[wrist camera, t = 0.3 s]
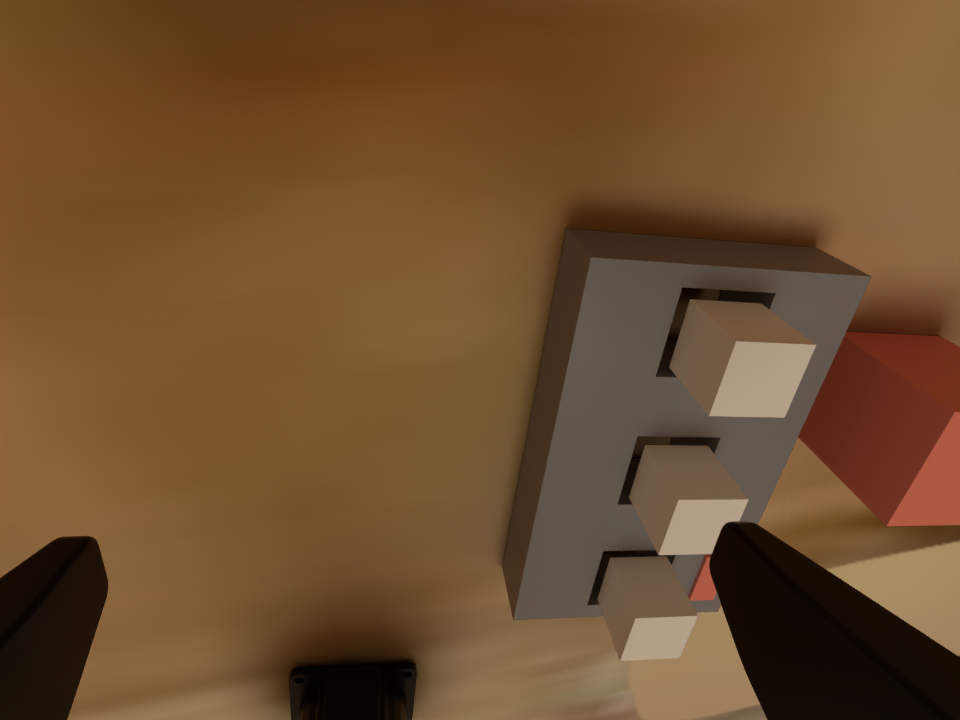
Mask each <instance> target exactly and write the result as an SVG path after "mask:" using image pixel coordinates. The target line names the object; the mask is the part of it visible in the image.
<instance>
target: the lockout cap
mask: <svg viewBox="0 0 960 720" xmlns="http://www.w3.org/2000/svg"><path fill="white" fill-rule="evenodd" d="M798 437H799V438H800V439H801V440H802V441H803V442H804V443H805V444H806V445H807V446H808V447H809V448H810V449H811V450H812V451H813V452H814V453H815V454H816V455H817V456H818V457H819V458H820V459H821V460H822V462H823V463H824V464H825V465H826V466H827V467H828V468H829V469H830V470H831V471H832V472H833V473H834V474H835V475H836V476H837V477H838V478H839V479H840V480H841V481H842V482H843V483H844V484H845V485H846V486H847V487H848V488H849V489H850V490H851V491H852V492H853V493H854V494H855V495H856V496H857V497H858V498H859V499H860V500H861V501H862V502H863V503H864V504H865V505H866V506H867V507H868V508H869V509H870V510H871V511H872V512H873V513H874V514H875V515H876V516H877V517H878V518H879V519H880V520H881V521H882V522H883V523H884V524H885V525H886V526H920V525H960V347H958V346H956V345H955V344H953V343H951V342H949V341H948V340H946V339H944V338H942V337H940V336H925V335H905V334H884V333H864V332H846V333H845V336H844V338H843V340H842V342H841V344H840V346H839V349H838V351H837V353H836V355H835V357H834V360H833V362H832V364H831V366H830V368H829V370H828V373H827V375H826V377H825V379H824V381H823V384H822V386H821V388H820V390H819V392H818V394H817V397H816V399H815V401H814V403H813V405H812V407H811V410H810V412H809V414H808V416H807V418H806V421H805V423H804V425H803V427H802V429H801V431H800V434H799V436H798Z"/></svg>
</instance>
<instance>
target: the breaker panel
mask: <svg viewBox="0 0 960 720" xmlns="http://www.w3.org/2000/svg"><path fill="white" fill-rule="evenodd" d="M870 279H871V276H869V275H867V274H866V273H864V272H862V271H860V270H858V269H856V268H854V267H852V266H850V265H848V264H846V263H845V262H843V261H841V260H839V259H837V258H835V257H833V256H831V255H829V254H827V253H825V252H823V251H822V250H820V249H818V248H812V247H799V246H786V245H773V244H760V243H747V242H734V241H721V240H708V239H695V238H682V237H669V236H656V235H643V234H630V233H617V232H604V231H591V230H578V229H566V231H565V237H564V242H563V247H562V252H561V258H560V263H559V268H558V274H557V279H556V284H555V290H554V295H553V300H552V305H551V311H550V316H549V321H548V327H547V332H546V337H545V343H544V348H543V353H542V358H541V364H540V369H539V374H538V380H537V385H536V390H535V396H534V401H533V406H532V411H531V417H530V422H529V427H528V433H527V438H526V443H525V449H524V454H523V459H522V464H521V470H520V475H519V480H518V486H517V491H516V496H515V502H514V507H513V512H512V517H511V523H510V528H509V533H508V539H507V544H506V549H505V555H504V560H503V565H502V569H503V573H504V578H505V583H506V588H507V592H508V597H509V602H510V607H511V611H512V616H513V620H525V619H549V618H573V617H597V616H604V615H603V613H602V610H601V607H600V604H599V602H598V596H599V592H600V589H601V586H602V583H603V580H604V576H605V573H606V570H607V567H608V563H609V560H610V558H618V557H660V556H667V558H668V560H669V561H670V563H671V565H672V567H673V569H674V571H675V573H676V575H677V577H678V579H679V581H680V582H681V584H682V586H683V588H684V590H685V592H686V594H687V596H688V598H689V600H690V602H691V604H692V605H693V607H694V609H695V611H696V612H715V611H716V612H717V611H718V610H719V608H720V606H721V603H720V600H719V597H718V594H717V591H716V589H715V586H714V583H713V580H712V577H711V574H710V569H709V562H710V557H711V554H689V555H658V553H657V551H656V549H655V547H654V545H653V543H652V541H651V540H650V538H649V536H648V534H647V532H646V530H645V528H644V526H643V524H642V522H641V520H640V518H639V516H638V514H637V512H636V510H635V508H634V506H633V504H632V502H631V500H630V498H629V495H630V492H631V489H632V486H633V483H634V479H635V476H636V473H637V470H638V466H639V463H640V460H641V458H631V457H632V454H633V451H634V447H635V444H636V441H637V437H638V436H651V437H673V438H672V441H671V444H670V445H689V446H709V448H710V449H711V450H712V452H713V453H714V454H715V456H716V457H717V458H718V459H719V461H720V462H721V463H722V465H723V466H724V467H725V469H726V470H727V471H728V473H729V474H730V475H731V477H732V478H733V479H734V481H735V482H736V483H737V485H738V486H739V487H740V489H741V490H742V491H743V492H744V494H745V495H746V496H747V498H748V499H749V500H748V502H747V505H746V507H745V509H744V512H743V514H742V516H741V518H740V521H750V522H754V523H756V524H757V525H758V523H759V521H760V519H761V516H762V514H763V512H764V510H765V508H766V505H767V503H768V501H769V499H770V497H771V495H772V492H773V490H774V488H775V486H776V484H777V482H778V479H779V477H780V475H781V473H782V471H783V468H784V466H785V464H786V462H787V460H788V458H789V455H790V453H791V451H792V449H793V447H794V444H795V442H796V440H797V438H798V436H799V434H800V431H801V429H802V427H803V425H804V423H805V421H806V418H807V416H808V414H809V412H810V410H811V407H812V405H813V403H814V401H815V399H816V397H817V394H818V392H819V390H820V388H821V386H822V384H823V381H824V379H825V377H826V375H827V373H828V370H829V368H830V366H831V364H832V362H833V360H834V357H835V355H836V353H837V351H838V349H839V346H840V344H841V342H842V340H843V338H844V336H845V333H846V331H847V329H848V327H849V325H850V323H851V320H852V318H853V316H854V314H855V312H856V309H857V307H858V305H859V303H860V301H861V299H862V296H863V294H864V292H865V290H866V288H867V285H868V283H869V281H870ZM682 287H684V288H700V289H716V290H722V291H721V294H720V297H719V300H718V301H728V302H745V303H761V304H763V305H764V306H765V307H767V308H768V309H769V310H771V311H772V312H773V313H775V314H776V315H777V316H779V317H780V318H781V319H783V320H784V321H785V322H787V323H788V324H789V325H791V326H792V327H793V328H795V329H796V330H797V331H799V332H800V333H801V334H803V335H804V336H805V337H807V338H808V339H809V340H811V341H812V342H813V343H815V344H816V347H815V349H814V352H813V354H812V356H811V358H810V361H809V363H808V365H807V368H806V370H805V372H804V374H803V377H802V379H801V381H800V384H799V386H798V388H797V390H796V393H795V395H794V397H793V400H792V402H791V404H790V406H789V409H788V411H787V413H786V416H785V418H775V417H726V416H708V414H707V413H706V412H705V411H704V409H703V408H702V407H701V406H700V405H699V403H698V402H697V401H696V400H695V398H694V397H693V396H692V395H691V394H690V392H689V391H688V390H687V389H686V387H685V386H684V385H683V384H682V383H681V381H680V380H679V379H678V378H677V376H676V375H675V374H674V373H673V372H672V370H671V369H670V368H669V366H670V363H671V360H672V356H673V353H674V350H675V347H676V343H677V340H667V337H668V334H669V330H670V327H671V324H672V320H673V317H674V314H675V310H676V307H677V304H678V300H679V297H680V294H681V290H682ZM634 550H635V552H631V553H603V551H634Z"/></svg>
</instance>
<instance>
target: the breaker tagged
mask: <svg viewBox="0 0 960 720" xmlns="http://www.w3.org/2000/svg"><path fill="white" fill-rule="evenodd" d="M598 602H599V604H600V607H601V610H602V613H603V615H604V618H605V621H606V624H607V626H608V629H609V632H610V635H611V637H612V640H613V643H614V646H615V648H616V651H617V654H618V657H619V659H620V661H630V660H646V659H647V660H648V659H666V658H680V655H681V653H682V651H683V649H684V646H685V644H686V642H687V640H688V637H689V635H690V633H691V630H692V628H693V626H694V624H695V621H696V619H697V617H698V615H697V613H696V611H695V609H694V607H693V605H692V604H691V602H690V600H689V598H688V596H687V594H686V592H685V590H684V588H683V586H682V584H681V582H680V581H679V579H678V577H677V575H676V573H675V571H674V569H673V567H672V565H671V563H670V561H669V560H668V558H667V556H660V557H618V558H610V560H609V563H608V567H607V570H606V573H605V576H604V580H603V583H602V586H601V589H600V592H599V596H598Z"/></svg>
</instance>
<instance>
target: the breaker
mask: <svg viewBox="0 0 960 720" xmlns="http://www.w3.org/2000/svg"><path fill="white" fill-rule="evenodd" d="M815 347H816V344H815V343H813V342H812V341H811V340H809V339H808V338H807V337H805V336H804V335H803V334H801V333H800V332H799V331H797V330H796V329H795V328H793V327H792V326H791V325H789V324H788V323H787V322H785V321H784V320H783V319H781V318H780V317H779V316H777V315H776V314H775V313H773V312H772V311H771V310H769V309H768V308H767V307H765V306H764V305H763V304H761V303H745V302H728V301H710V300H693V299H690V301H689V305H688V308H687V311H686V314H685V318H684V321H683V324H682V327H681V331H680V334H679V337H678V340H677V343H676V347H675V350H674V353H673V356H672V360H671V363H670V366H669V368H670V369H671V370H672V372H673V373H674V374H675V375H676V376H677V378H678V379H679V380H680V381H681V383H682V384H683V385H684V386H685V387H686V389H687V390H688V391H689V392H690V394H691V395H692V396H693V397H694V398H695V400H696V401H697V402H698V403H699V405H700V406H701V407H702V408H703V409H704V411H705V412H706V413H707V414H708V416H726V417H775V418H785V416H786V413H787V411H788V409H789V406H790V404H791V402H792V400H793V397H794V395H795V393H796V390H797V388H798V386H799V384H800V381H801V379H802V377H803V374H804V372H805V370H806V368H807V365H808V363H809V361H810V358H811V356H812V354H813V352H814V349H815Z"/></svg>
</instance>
